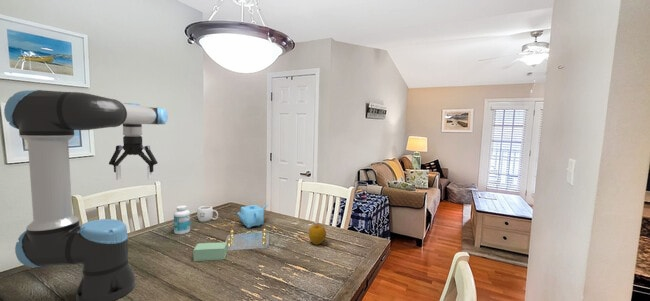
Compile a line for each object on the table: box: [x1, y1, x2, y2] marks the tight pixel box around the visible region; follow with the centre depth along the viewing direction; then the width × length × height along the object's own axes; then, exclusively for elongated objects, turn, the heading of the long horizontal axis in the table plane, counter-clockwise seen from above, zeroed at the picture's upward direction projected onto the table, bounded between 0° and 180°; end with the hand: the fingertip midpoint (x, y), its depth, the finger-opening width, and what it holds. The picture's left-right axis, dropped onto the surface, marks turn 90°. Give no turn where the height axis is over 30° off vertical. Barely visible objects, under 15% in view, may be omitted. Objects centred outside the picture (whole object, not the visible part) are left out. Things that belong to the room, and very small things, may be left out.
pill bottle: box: [173, 205, 191, 235], centre depth 137 cm, size 8×7×14 cm
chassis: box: [225, 228, 270, 251], centre depth 128 cm, size 20×14×4 cm
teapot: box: [236, 204, 268, 229], centre depth 150 cm, size 16×18×11 cm
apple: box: [308, 224, 327, 246], centre depth 129 cm, size 8×8×9 cm
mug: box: [196, 205, 219, 223], centre depth 155 cm, size 12×8×8 cm
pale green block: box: [192, 242, 228, 262], centre depth 113 cm, size 12×6×5 cm, turn 100°
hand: (134, 178), depth 131 cm, fingers open, 13 cm apart
